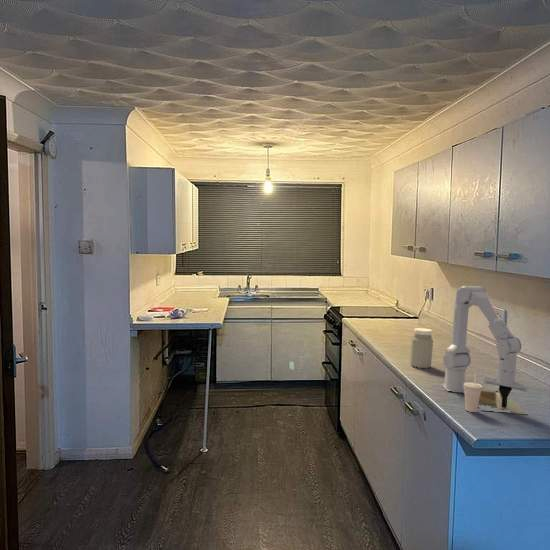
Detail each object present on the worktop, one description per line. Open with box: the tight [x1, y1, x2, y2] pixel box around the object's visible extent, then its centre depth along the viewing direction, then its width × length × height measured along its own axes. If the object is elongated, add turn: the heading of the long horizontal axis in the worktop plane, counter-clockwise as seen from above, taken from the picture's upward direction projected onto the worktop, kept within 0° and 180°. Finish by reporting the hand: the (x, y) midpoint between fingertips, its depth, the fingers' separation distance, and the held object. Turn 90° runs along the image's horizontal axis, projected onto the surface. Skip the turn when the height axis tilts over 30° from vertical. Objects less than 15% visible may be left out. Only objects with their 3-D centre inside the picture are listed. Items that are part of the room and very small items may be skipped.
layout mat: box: [477, 398, 528, 415], centre depth 187 cm, size 16×16×1 cm
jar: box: [409, 327, 434, 369], centre depth 238 cm, size 10×10×18 cm
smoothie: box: [464, 372, 483, 413], centre depth 179 cm, size 6×6×14 cm
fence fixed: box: [479, 390, 499, 403], centre depth 189 cm, size 1×10×5 cm, turn 83°
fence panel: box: [495, 392, 502, 410], centre depth 184 cm, size 8×1×4 cm, turn 164°
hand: (503, 406), depth 182 cm, fingers closed, pressing on fence panel
